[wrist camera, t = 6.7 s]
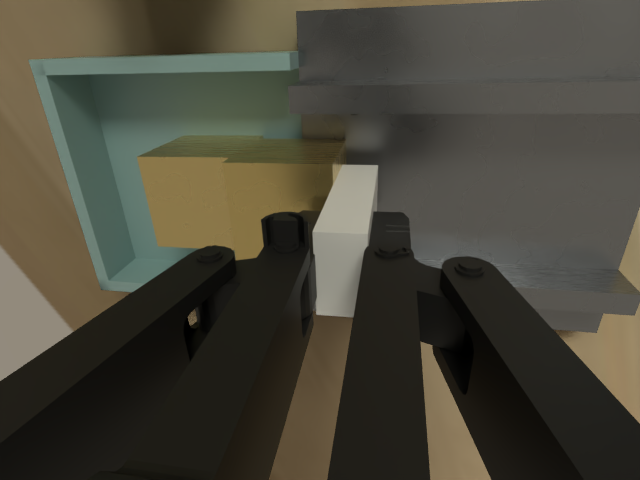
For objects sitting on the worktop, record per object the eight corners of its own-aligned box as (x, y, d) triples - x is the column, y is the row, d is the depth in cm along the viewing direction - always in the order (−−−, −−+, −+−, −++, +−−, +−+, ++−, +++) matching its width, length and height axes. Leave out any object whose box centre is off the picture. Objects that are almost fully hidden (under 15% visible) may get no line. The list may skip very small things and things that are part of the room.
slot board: (304, 13, 17) (283, 7, 14) (684, -4, 15) (761, -14, 12) (315, 294, 23) (302, 334, 20) (583, 314, 21) (616, 362, 18)
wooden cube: (256, 138, 18) (222, 162, 14) (346, 139, 17) (332, 164, 14) (264, 220, 20) (236, 260, 16) (346, 224, 19) (334, 266, 16)
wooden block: (183, 135, 20) (136, 156, 16) (263, 135, 19) (232, 157, 15) (197, 211, 21) (157, 246, 18) (270, 214, 21) (244, 250, 17)
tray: (79, 57, 19) (28, 59, 17) (305, 50, 17) (289, 52, 15) (133, 262, 24) (101, 289, 22) (314, 273, 22) (303, 305, 20)
